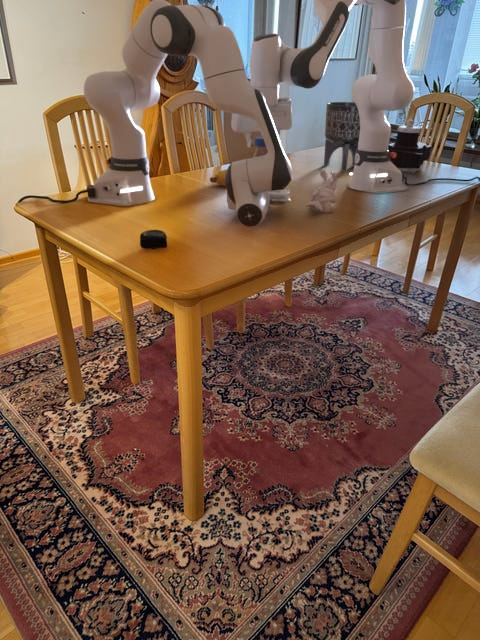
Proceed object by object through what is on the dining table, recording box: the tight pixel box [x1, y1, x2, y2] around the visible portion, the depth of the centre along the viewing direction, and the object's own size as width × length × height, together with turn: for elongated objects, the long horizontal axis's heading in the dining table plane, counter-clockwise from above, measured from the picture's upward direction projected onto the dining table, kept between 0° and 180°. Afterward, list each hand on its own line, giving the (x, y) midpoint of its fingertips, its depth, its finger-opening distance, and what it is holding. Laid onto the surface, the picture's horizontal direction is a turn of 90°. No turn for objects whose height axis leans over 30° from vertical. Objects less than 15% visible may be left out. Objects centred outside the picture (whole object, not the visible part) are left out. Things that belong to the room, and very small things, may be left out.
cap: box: [254, 136, 266, 147], centre depth 142 cm, size 4×5×2 cm
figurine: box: [305, 168, 338, 213], centre depth 146 cm, size 8×15×13 cm, turn 145°
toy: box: [209, 168, 228, 188], centre depth 176 cm, size 11×6×15 cm
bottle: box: [252, 146, 268, 158], centre depth 147 cm, size 5×5×21 cm
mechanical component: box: [388, 119, 433, 174], centre depth 204 cm, size 22×21×30 cm
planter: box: [323, 101, 360, 172], centre depth 204 cm, size 20×20×26 cm
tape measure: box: [139, 229, 168, 250], centre depth 117 cm, size 7×7×4 cm
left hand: (260, 189), depth 150 cm, fingers closed on bottle, 5 cm apart
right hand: (261, 146), depth 143 cm, fingers open, 7 cm apart
